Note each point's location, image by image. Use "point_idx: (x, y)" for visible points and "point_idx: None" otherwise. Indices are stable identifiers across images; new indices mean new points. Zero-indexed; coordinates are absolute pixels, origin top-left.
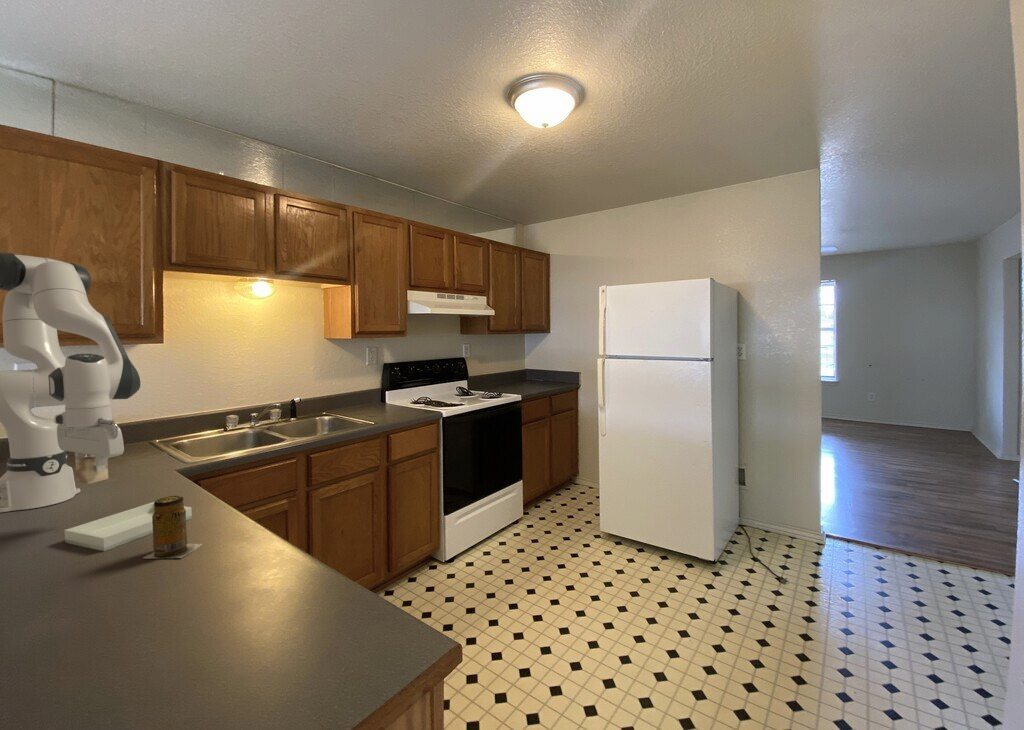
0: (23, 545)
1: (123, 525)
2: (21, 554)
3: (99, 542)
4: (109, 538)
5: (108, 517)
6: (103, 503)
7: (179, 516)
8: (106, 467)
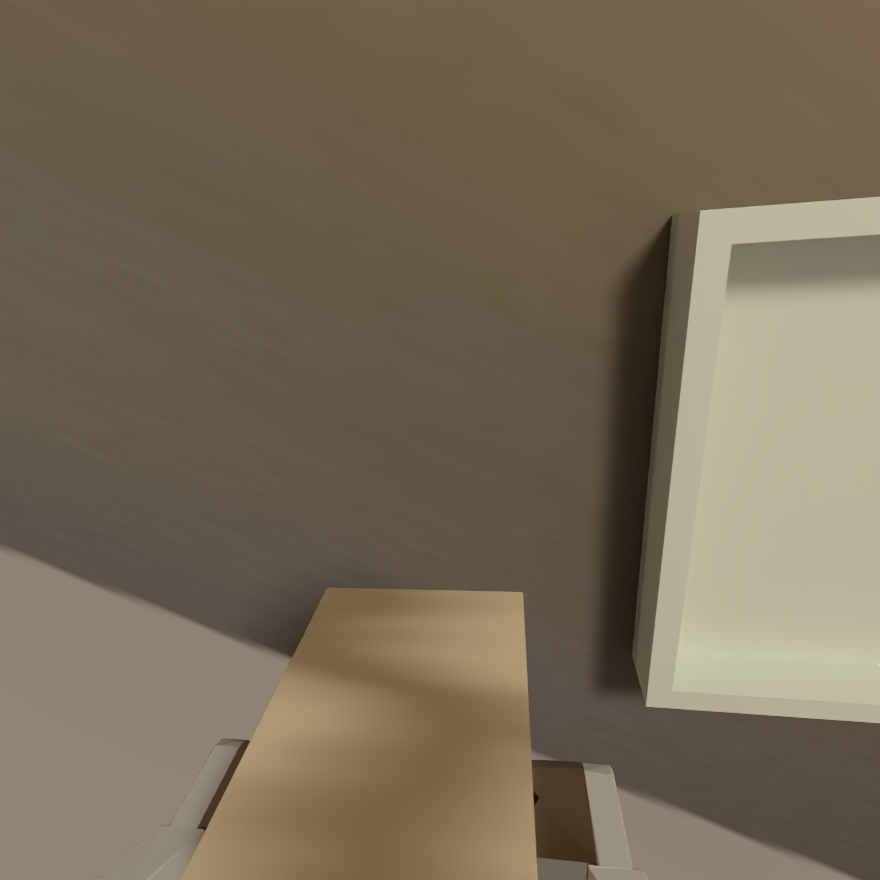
0: None
1: (757, 484)
2: (586, 747)
3: None
4: None
5: (690, 545)
6: (121, 255)
7: None
8: (528, 728)
